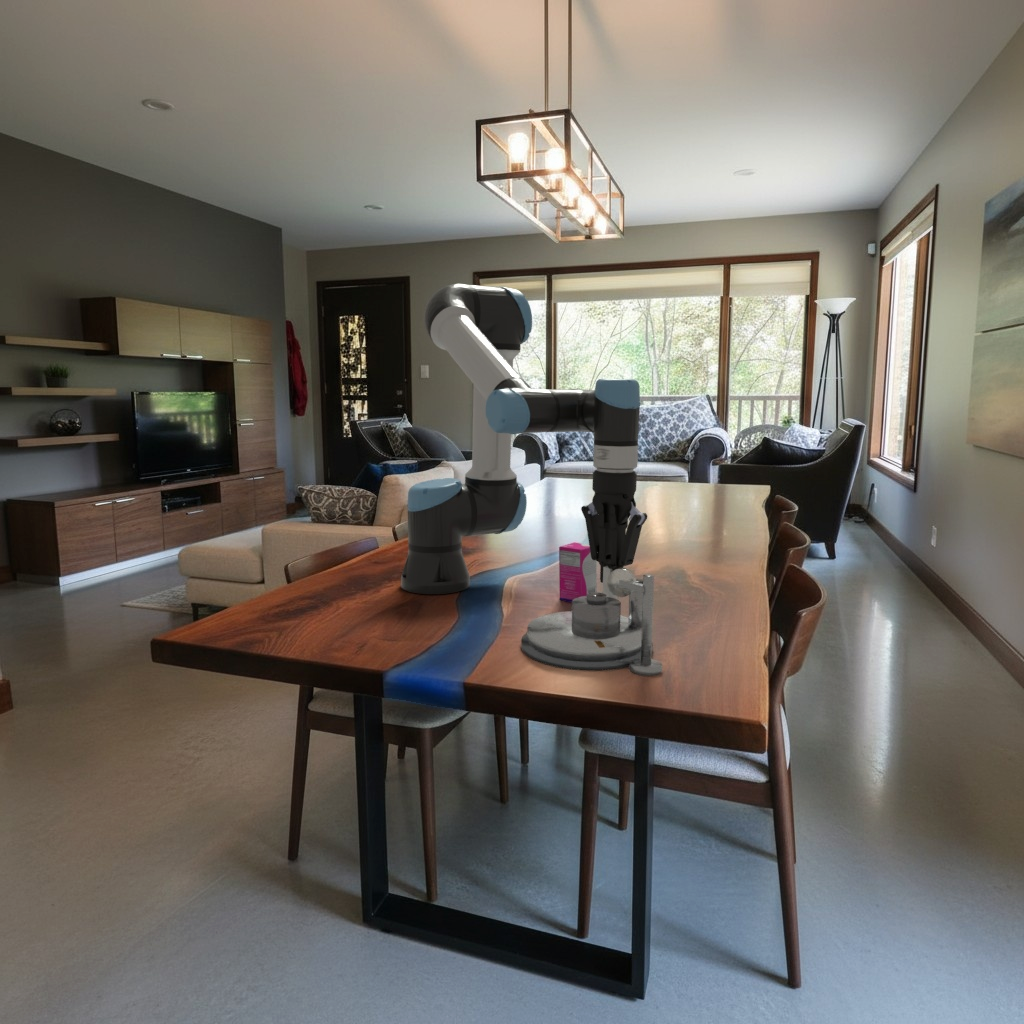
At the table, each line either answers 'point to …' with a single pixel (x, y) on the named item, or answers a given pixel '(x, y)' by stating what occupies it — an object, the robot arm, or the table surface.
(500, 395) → the robot arm
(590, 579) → the supplement box
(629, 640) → the turntable
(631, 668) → the metal lever handle
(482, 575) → the table surface
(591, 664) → the base
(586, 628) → the cover
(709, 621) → the table surface
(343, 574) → the table surface
